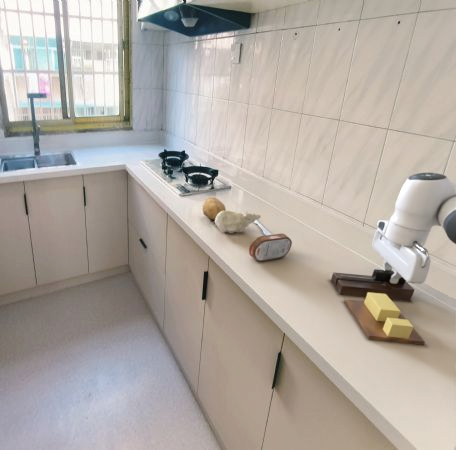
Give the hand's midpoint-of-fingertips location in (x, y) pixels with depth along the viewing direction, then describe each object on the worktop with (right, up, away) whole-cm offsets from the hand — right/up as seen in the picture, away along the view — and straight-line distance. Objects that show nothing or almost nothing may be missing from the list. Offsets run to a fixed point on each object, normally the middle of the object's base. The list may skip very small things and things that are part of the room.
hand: (389, 278), depth 94 cm
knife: (-5, -3, +2) cm, 6 cm away
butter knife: (-23, +15, +44) cm, 52 cm away
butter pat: (-9, -10, -16) cm, 21 cm away
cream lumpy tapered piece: (-34, +13, +37) cm, 52 cm away
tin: (-28, +4, +17) cm, 33 cm away
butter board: (-9, -9, -10) cm, 16 cm away
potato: (-41, +18, +47) cm, 65 cm away
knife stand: (-4, -4, +2) cm, 6 cm away
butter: (-8, -7, -8) cm, 14 cm away
